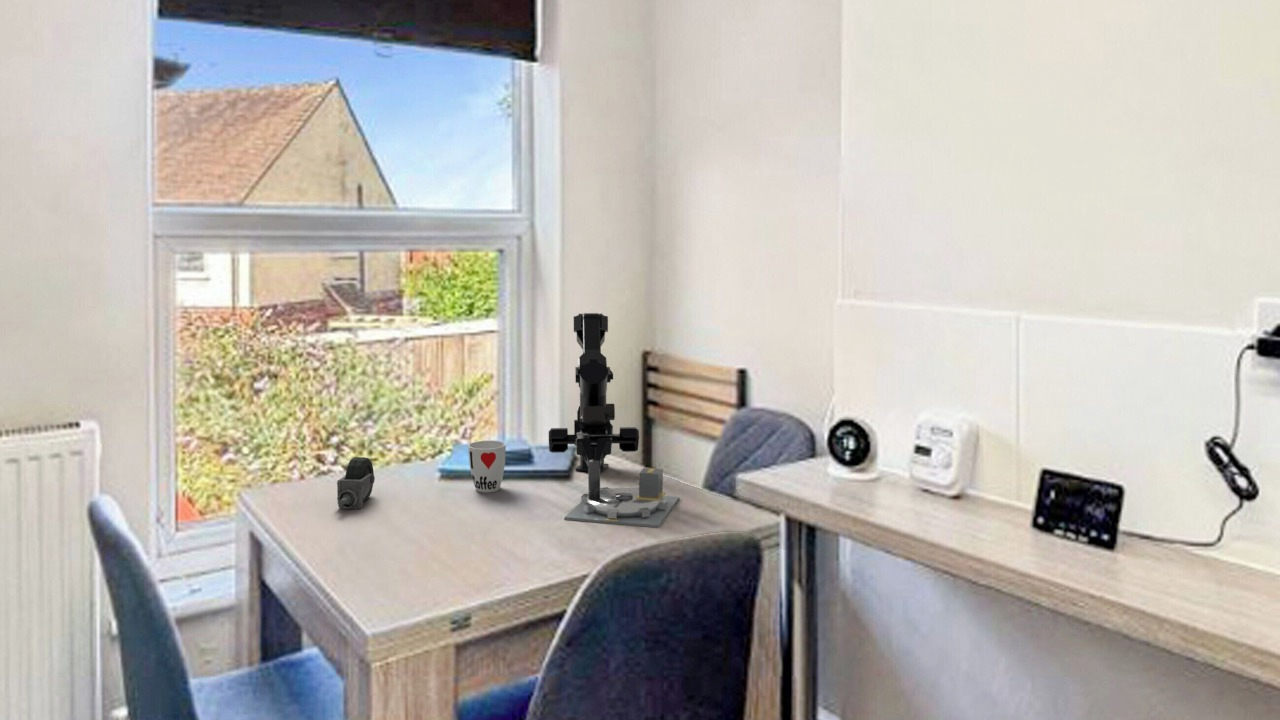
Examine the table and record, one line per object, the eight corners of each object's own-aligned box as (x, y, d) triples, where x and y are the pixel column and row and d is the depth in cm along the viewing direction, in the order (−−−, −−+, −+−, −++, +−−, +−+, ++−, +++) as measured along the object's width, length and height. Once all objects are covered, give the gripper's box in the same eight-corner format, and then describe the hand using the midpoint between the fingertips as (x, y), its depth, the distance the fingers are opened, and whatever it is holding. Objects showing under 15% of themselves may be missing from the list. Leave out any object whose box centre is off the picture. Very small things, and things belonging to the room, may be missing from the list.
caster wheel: (354, 498, 194) (327, 513, 179) (354, 453, 194) (326, 465, 179) (380, 499, 194) (355, 514, 179) (380, 454, 194) (355, 465, 179)
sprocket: (595, 490, 195) (595, 446, 194) (675, 496, 191) (675, 452, 189) (568, 514, 178) (568, 467, 177) (656, 522, 174) (656, 474, 172)
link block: (643, 491, 188) (643, 467, 187) (662, 492, 187) (662, 468, 186) (639, 496, 184) (639, 472, 184) (658, 498, 183) (658, 473, 183)
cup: (462, 492, 195) (461, 447, 194) (479, 482, 203) (478, 439, 202) (496, 496, 193) (495, 450, 192) (512, 485, 201) (511, 441, 199)
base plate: (593, 492, 196) (593, 489, 196) (679, 499, 191) (679, 496, 191) (564, 519, 178) (564, 516, 178) (658, 527, 173) (658, 524, 173)
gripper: (548, 390, 187) (547, 455, 178) (638, 389, 188) (642, 454, 179) (550, 419, 196) (548, 483, 186) (636, 418, 197) (639, 482, 188)
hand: (594, 475), depth 185 cm, fingers closed
